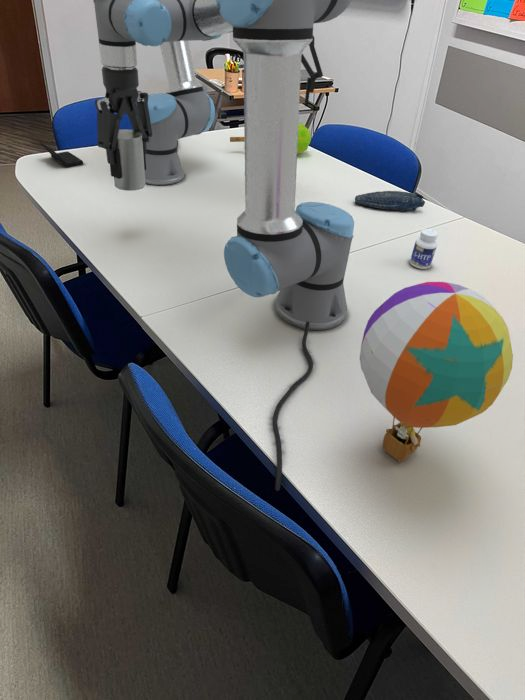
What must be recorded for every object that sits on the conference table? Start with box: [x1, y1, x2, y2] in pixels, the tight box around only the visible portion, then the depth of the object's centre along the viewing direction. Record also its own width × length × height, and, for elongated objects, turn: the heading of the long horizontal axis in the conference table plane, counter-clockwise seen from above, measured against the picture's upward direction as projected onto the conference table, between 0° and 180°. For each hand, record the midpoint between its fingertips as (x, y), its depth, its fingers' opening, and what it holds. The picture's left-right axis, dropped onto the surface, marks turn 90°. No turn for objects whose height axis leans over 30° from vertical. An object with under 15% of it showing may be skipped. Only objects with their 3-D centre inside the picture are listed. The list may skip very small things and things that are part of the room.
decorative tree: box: [229, 123, 312, 155], centre depth 188 cm, size 18×10×30 cm
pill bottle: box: [409, 228, 439, 270], centre depth 130 cm, size 5×5×9 cm
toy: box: [359, 281, 514, 463], centre depth 73 cm, size 20×20×30 cm
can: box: [110, 128, 147, 192], centre depth 123 cm, size 7×7×12 cm
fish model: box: [354, 190, 426, 212], centre depth 159 cm, size 7×21×5 cm, turn 84°
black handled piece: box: [38, 141, 84, 168], centre depth 168 cm, size 12×7×10 cm
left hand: (281, 103), depth 141 cm, fingers open, 13 cm apart
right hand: (129, 172), depth 125 cm, fingers closed on can, 7 cm apart
